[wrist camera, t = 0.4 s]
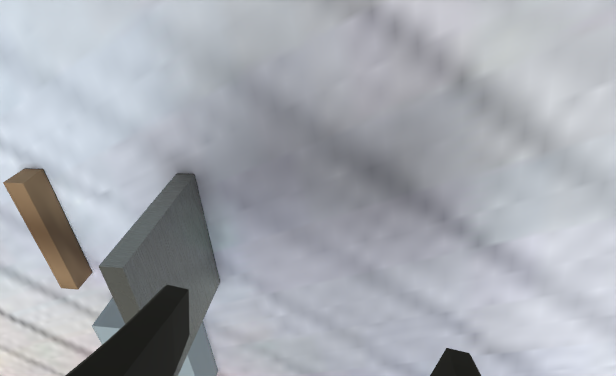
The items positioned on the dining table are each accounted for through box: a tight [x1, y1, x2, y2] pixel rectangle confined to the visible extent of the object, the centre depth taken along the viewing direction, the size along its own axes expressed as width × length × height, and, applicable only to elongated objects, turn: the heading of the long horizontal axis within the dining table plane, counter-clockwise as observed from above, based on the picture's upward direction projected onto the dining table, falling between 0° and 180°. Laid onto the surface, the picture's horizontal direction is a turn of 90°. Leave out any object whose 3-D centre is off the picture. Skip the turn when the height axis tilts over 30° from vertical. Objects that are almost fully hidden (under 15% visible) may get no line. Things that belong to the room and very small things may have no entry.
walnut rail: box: [3, 169, 92, 289], centre depth 23 cm, size 8×1×2 cm, turn 3°
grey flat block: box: [99, 174, 220, 376], centre depth 20 cm, size 8×1×7 cm, turn 3°
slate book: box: [92, 298, 218, 376], centre depth 28 cm, size 8×6×3 cm
